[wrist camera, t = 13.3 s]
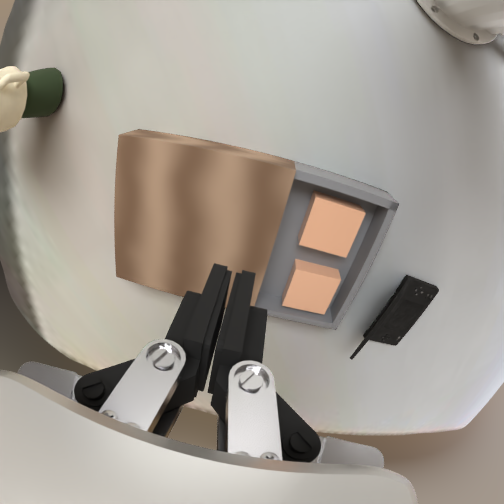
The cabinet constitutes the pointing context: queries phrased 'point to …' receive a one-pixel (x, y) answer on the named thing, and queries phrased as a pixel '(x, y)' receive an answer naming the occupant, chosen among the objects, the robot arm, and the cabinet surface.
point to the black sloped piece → (400, 312)
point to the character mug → (28, 94)
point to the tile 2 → (330, 224)
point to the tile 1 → (310, 286)
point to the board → (195, 210)
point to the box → (350, 268)
